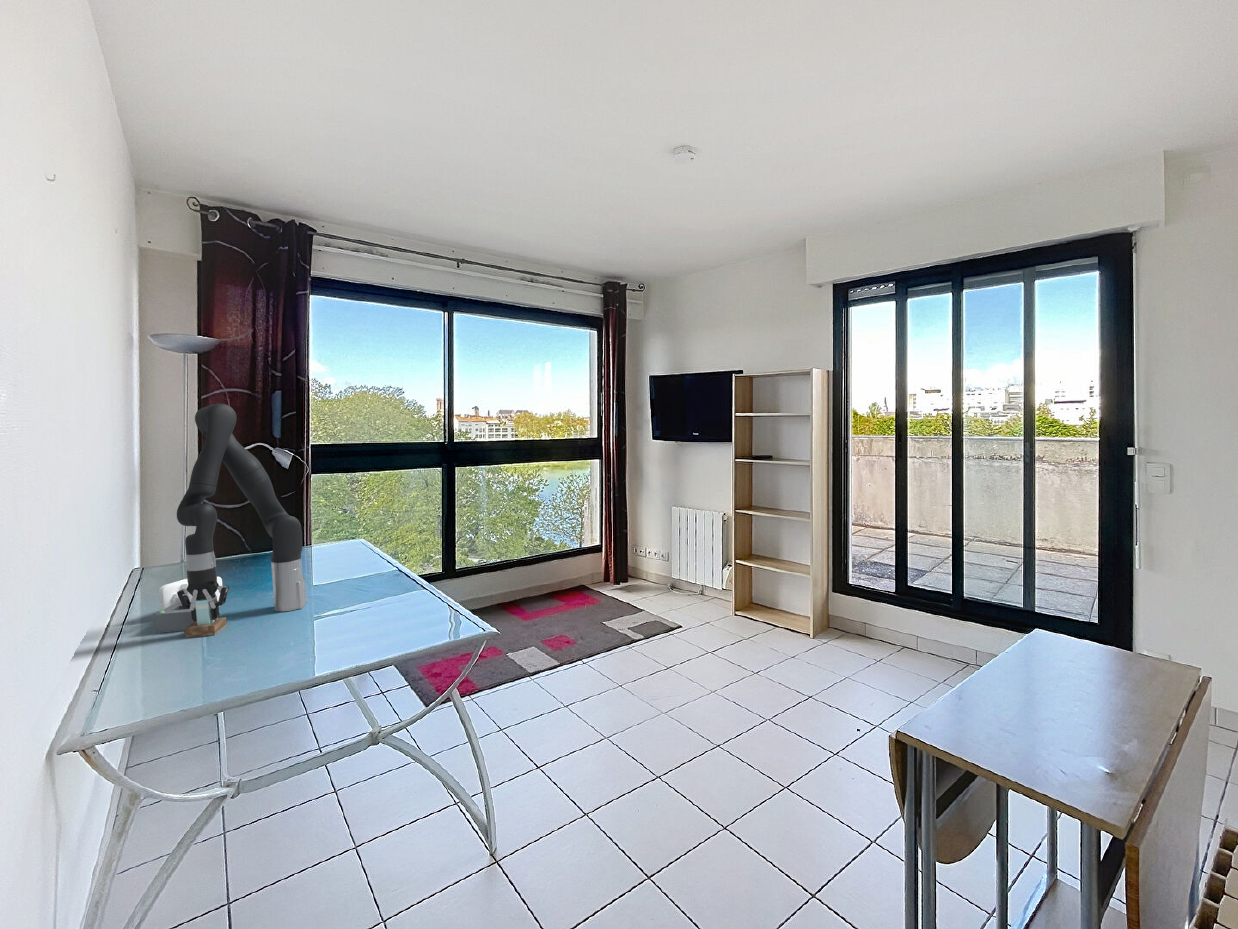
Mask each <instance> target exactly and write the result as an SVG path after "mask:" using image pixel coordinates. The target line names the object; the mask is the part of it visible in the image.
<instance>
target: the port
mask: <svg viewBox="0 0 1238 929" xmlns="http://www.w3.org/2000/svg"><path fill="white" fill-rule="evenodd" d="M154 615H155V616H154V617H155V626H156V634H160V633H162V634H164V633H172V632H173V633H174V632H180V631H181V632H183V631H184V632H185V628H186V627H188V626H189V625H191V624H192V623H194V620H192V615H191V610H190V609H184V608H183V606H182V604H181V603H178V604H173V605H171V606H169V607H168V608H166V609H164V610H162V611H161V610H160V611H159V612H157V613H156V614H154Z"/></svg>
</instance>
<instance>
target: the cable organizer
mask: <svg viewBox="0 0 1238 929" xmlns="http://www.w3.org/2000/svg"><path fill="white" fill-rule="evenodd" d="M217 583H218V584H219V586H223V579H222V578H221V576H217ZM187 587H188V582H187V578H184V579H181V580H177V581H174V582H171V583H166V584H164V585H162V586H160V588H159V591H158V593H159V594H158V595H159V596H158V597H159V604H160V606H159V607H160V612H161V611H162V610H164V609H166V608H168V607H169V606H171V605H173V604H178V603H181V601H180V599H179V597H178V595H177V592H178V591H180V590H182V589H186V588H187ZM215 594H216V596H217V600H219V596H220V593H219V590H218V589H217V591H216V592H215ZM188 598H189V600H190V602H191V600H192V595H191V594H190V593H189V592H188ZM220 607H221V606H219V608H220Z"/></svg>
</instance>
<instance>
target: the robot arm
mask: <svg viewBox="0 0 1238 929" xmlns="http://www.w3.org/2000/svg"><path fill="white" fill-rule="evenodd" d="M237 420H238V417H237V413H236V411H235V410H234V408H233V407H232V406H230V405H228V404H225V403H214V404H211V405H207V406H204V407H201V408H199V409H198V410H197V411H196V413H195V415H194V422H195V425H196V427H197V429H198V430H199V431H200V433H201V434H202V435H203V436H204V437H205V440H204V444H203V446H202V448H201V450H200V453H199V455H198V456H197V458H196V461H195V463H194V465H193V467H192V470H191V474H190V479H189V483H188V488H187V491H186V492H185V494H184V495H183V497H182V499H181V501H180V503H179V504H178V507H177V509H176V520H177V522H178V523H179V524H180V525H181V526H184V527H195V531H194V533H192V534H189V535H187V536H186V537H185V540H184V542H185V543H184V544H185V545H184V546H185V554H186V555H185V569H186V579H187V582H188V587H187V588H186V589H182V590H180V591H178V592H177V595H178V597H179V599H180V601H181V604H182V606H183V608H184V609H190V610H191V615H192V620H194V622H197V616H196V607H195V606H196V604H195V601H197V600H200V599H207V600H208V602H209V603H210V605H211V607H212V609H211V614H212V620H216V619H217V618H220V607H221V606H223V605H224V604H225V603H226V601H227V598H228V593H229V588H230V586H228V585H224V586H223V585H222V586H219V584H218V583H217V577H218V575H217V563H216V555H215V551H214V534H215V530H216V525H217V521H218V512H217V510H216V508H215V507H214V506H213V505H212V504H210V503H203V502H204V501H205V499H207V498H210V497H213V496H214V495H215V493H216V490H217V486H218V480H219V475H220V472H221V471H220V470H221V466H222V462H223V464H224V466H225V467H226V468H227V470H228V472H229V474H230V475H231V477H232V478H233V480H234V482H235V483H236V485H237V486H238V487H239V489H240V490H241V492H242V493H243V494H244V497H245V498H246V499H247V500H248V501H249V503H250V504H251V505H252V506H253V508H254V509H255V510H256V512H257V514H258V516H259V518H260V520H261V522H262V525H263V526H264V529H265V531H266V532H267V534H268V535H269V537H270V538H272V539H271V540H272V552H271V554H270V561H271V562H270V563H271V564H270V566H271V577H272V591H273V593H272V594H273V602H274V604H273V605H274V611H276V612H288V611H289V612H290V611H294V610H301V609H302V608H303V607H304V606H306V604H307V593H306V592H307V591H306V578H305V577H303V567H302V566H303V565H302V564H303V563H302V551H303V531H302V524H301V522H300V520H299V519H298V518H297V517H295V516H292V515H289V513H288V512H287V511H286V510H285V508H284V507H283V506H282V505H281V503H280V502H279V499H278V498H277V496H276V493H275V491H274V487H273V484H272V481H271V479H270V476H269V474H268V472H266V469H265V468H264V466H263V464H261V462H260V461H259V459H258V458H257V457H256V456H255V455H253V454H252V453H251V452H250V451H248V449H246V448H245V447H244V446H243V445H241V444H240V442H239V441H238V440H237V439H236V437H235V435H234V434H233V431H234V429H235V427H236V424H237ZM217 589H218V590H219V593H220V596H219V600H217V596H216V594H215V592H216V591H217ZM188 592H189V593H190V594H191V595H192V600H191V602H190V600H189V598H188ZM219 606H220V607H219Z"/></svg>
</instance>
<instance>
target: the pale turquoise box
mask: <svg viewBox="0 0 1238 929" xmlns="http://www.w3.org/2000/svg"><path fill="white" fill-rule="evenodd" d="M195 604H196V606H195V607H196V616H197V625H208V624H212V623H213V622H214V621H215V620H212V614H211V609H212V607H211V605H210V603H209V602H208V600H207V599H200V600H197V601H195Z"/></svg>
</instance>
